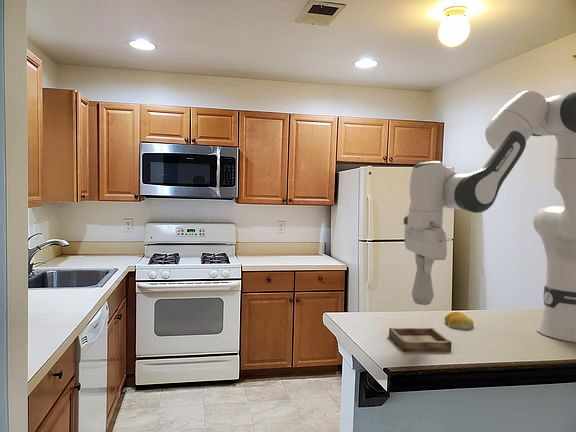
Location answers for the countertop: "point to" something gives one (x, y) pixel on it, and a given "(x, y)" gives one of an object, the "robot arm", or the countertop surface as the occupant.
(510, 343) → the countertop surface
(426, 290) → the salt shaker
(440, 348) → the tray
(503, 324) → the countertop surface
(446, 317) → the bread roll
